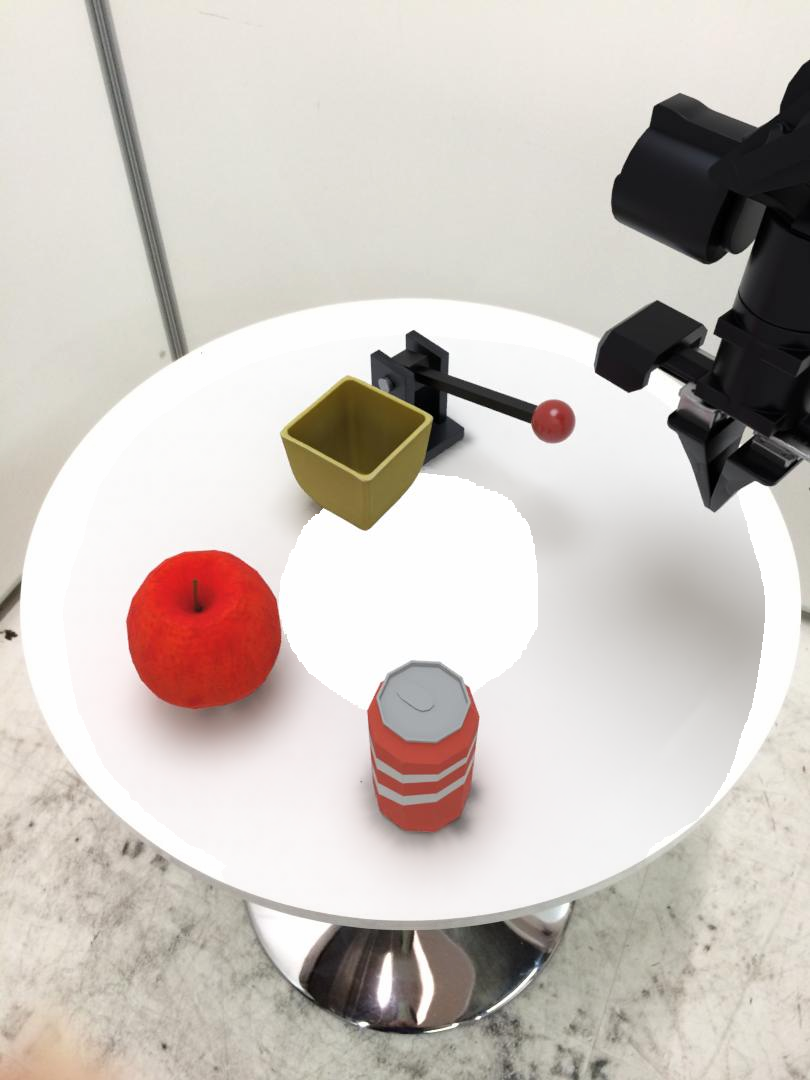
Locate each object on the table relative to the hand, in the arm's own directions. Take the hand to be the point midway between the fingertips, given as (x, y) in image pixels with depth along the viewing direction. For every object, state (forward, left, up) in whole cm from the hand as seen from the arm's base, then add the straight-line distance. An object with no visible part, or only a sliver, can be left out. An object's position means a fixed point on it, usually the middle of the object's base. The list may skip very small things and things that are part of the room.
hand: (713, 506), depth 56 cm
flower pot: (+26, -5, -13) cm, 30 cm away
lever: (+17, -11, -5) cm, 21 cm away
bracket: (+24, -15, -13) cm, 32 cm away
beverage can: (+14, +18, -13) cm, 27 cm away
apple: (+30, +14, -13) cm, 36 cm away
